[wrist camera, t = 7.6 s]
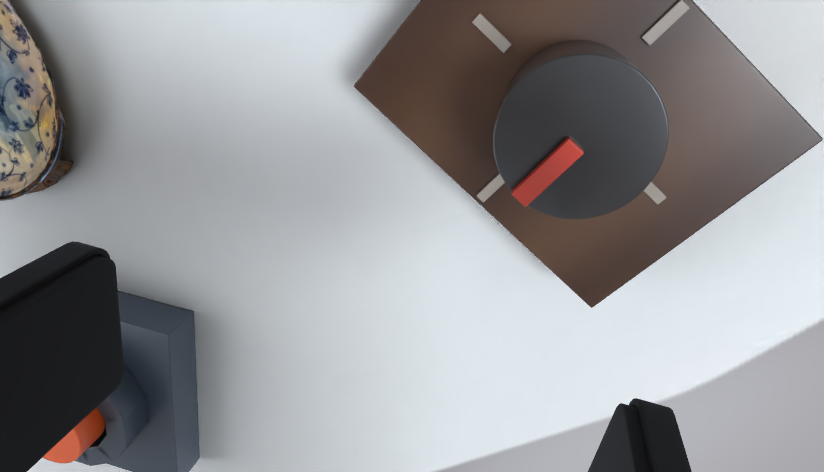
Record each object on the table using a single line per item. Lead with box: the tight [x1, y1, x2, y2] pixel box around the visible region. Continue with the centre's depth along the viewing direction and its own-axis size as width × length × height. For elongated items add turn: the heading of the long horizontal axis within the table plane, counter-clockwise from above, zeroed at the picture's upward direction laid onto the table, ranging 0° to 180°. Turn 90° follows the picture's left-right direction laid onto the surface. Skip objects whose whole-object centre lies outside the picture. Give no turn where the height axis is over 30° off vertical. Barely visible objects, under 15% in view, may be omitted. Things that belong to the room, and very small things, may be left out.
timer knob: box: [493, 40, 669, 219], centre depth 16 cm, size 4×4×4 cm
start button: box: [43, 407, 105, 463], centre depth 28 cm, size 4×4×2 cm
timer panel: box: [354, 0, 823, 308], centre depth 19 cm, size 12×9×3 cm
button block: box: [75, 292, 199, 472], centre depth 30 cm, size 11×10×4 cm
